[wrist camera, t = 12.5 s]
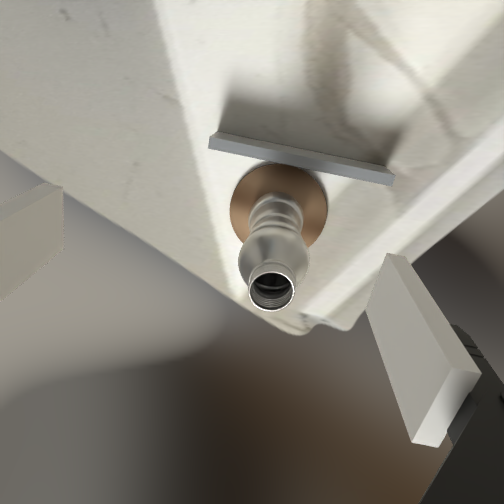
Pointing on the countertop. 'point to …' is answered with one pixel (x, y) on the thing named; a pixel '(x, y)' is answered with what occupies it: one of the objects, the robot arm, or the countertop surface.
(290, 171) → the walnut coaster
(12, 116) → the countertop surface
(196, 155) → the countertop surface
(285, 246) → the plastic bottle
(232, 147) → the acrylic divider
